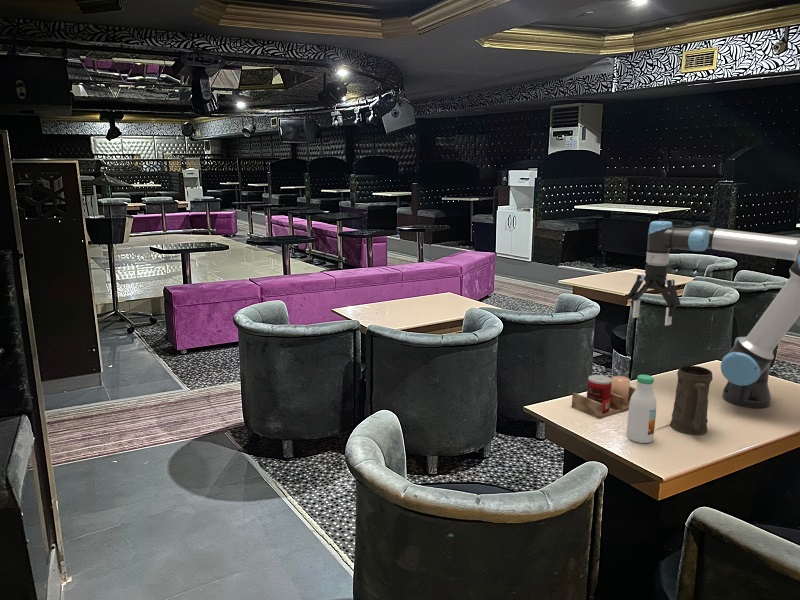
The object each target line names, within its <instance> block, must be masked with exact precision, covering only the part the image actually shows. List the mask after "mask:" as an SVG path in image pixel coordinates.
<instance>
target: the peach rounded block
mask: <svg viewBox="0 0 800 600" xmlns="http://www.w3.org/2000/svg"><path fill="white" fill-rule="evenodd" d="M611 379H612V386H611V393H614V394H616V395H619V396H622V397H624V398H625V402H624V406H627V405H628V397H629V386H630V384H631V379H630V378H629V377H627V376H624V375H623V376H622V375H614V376H613V375H612V376H611Z"/></svg>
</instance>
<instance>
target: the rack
mask: <svg viewBox="0 0 800 600" xmlns="http://www.w3.org/2000/svg"><path fill="white" fill-rule="evenodd" d="M635 390H636V387H633V386H629V397H628V405H627V406H624V402H625V398H624V397H622V396H619V395H616V394H614V393H611V397H610V408H609V411H608V412H606V413H602V407H603V404H602V403H599V402H597V401H594V400H592V399H589V398H587V396H584V395H581V394H579V393H577V392H572V397H571V408H573V409H575V410H578V411H579V412H582V413H585V414H587V415H589V416H592V417H594V418H596V419H599V420H600V419H604V418H607V417H612V416H614V415H615V416H616V415H618V414H621V413H624V412H629V404H630V399H631V396H632V394H633V393H634V391H635Z"/></svg>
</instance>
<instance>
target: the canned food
mask: <svg viewBox="0 0 800 600" xmlns="http://www.w3.org/2000/svg"><path fill="white" fill-rule="evenodd" d="M611 386H612V377H609V376H606V375H601V374H592V375H589V376H588V378H587V385H586V387H587V388H586V397H587V398H589V399H592V400H594V401H597V402H599V403H602V404H603V407H602V413H606V412H608V411H609V408H610V397H611Z"/></svg>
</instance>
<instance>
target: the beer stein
mask: <svg viewBox="0 0 800 600" xmlns="http://www.w3.org/2000/svg"><path fill="white" fill-rule="evenodd" d="M676 375H677V384H676V389H675V398H674V403H673V410H672V412H671V413H672V414H671V420H670V424H669V425H670V427H671V428H672V429H674V430H675V431H677V432H679V433H682V434H687V435H693V436H694V435H695V436H696V435H697V436H701V435H705V434H706V433H708V429H709V428H708V422H709V421H708V407H709V393H710V386H711V385H710V384H711V382H712V381H713V372H712V371H711V370H710V369H708V368H705V367H702V366H698V365H681V366H679V367H678V370H677V372H676Z"/></svg>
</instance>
